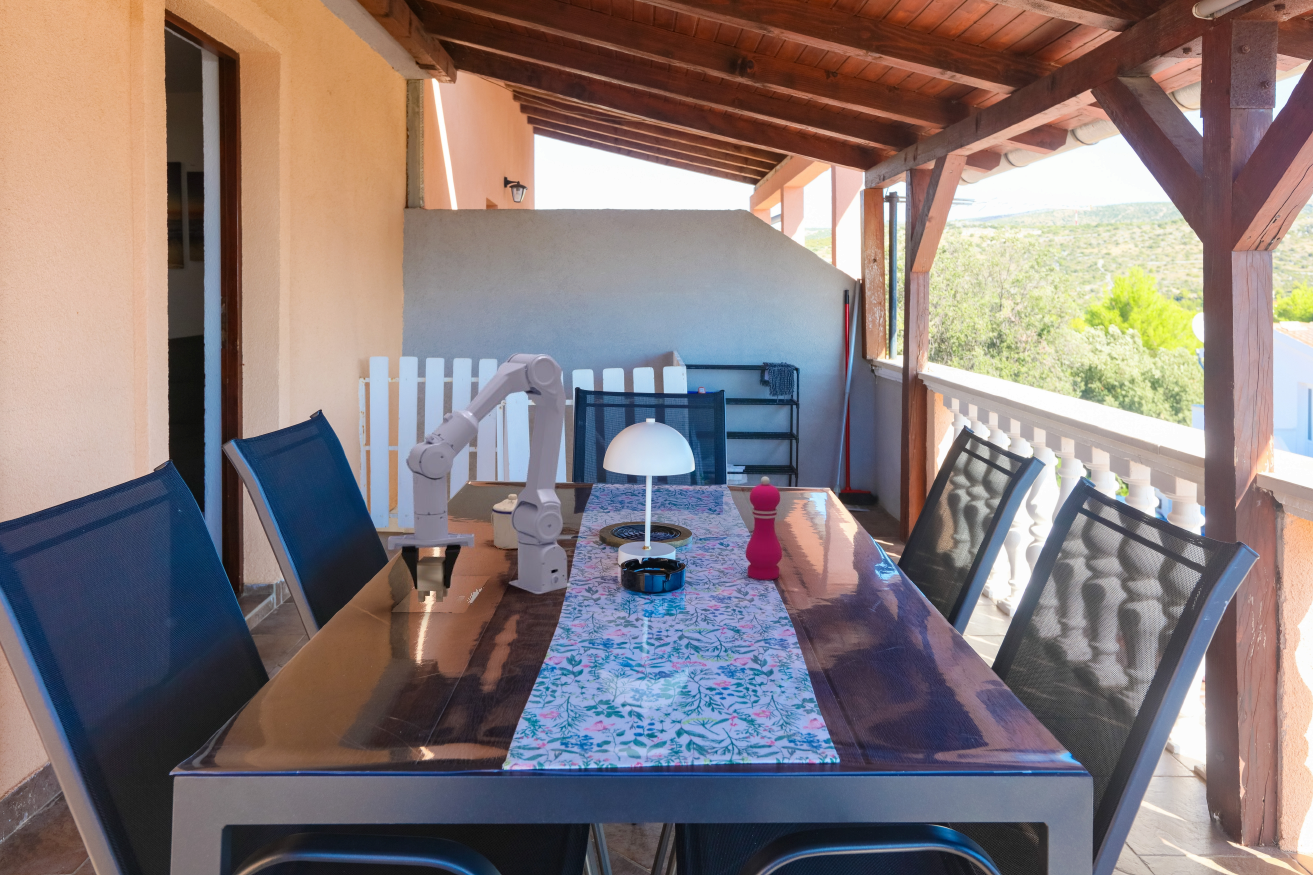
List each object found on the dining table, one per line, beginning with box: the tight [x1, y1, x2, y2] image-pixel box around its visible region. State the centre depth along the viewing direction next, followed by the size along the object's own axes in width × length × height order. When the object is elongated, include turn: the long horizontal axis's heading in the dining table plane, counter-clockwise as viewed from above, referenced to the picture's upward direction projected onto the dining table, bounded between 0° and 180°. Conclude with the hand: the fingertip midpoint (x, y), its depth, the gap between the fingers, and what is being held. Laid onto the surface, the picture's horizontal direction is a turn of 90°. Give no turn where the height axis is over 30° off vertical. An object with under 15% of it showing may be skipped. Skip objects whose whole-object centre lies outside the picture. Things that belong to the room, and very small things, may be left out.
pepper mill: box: [745, 476, 783, 581], centre depth 175 cm, size 7×7×20 cm
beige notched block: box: [417, 555, 448, 602], centre depth 156 cm, size 4×4×7 cm
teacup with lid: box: [490, 493, 518, 548], centre depth 199 cm, size 12×9×12 cm
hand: (433, 587), depth 156 cm, fingers closed on beige notched block, 5 cm apart
